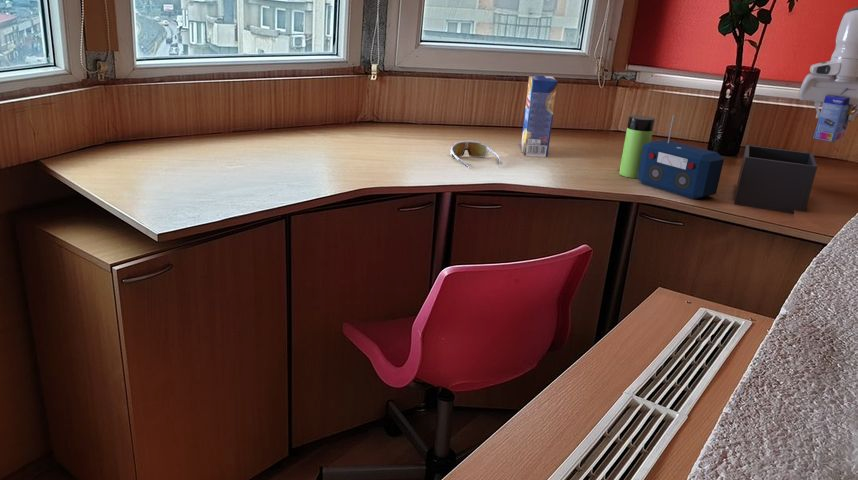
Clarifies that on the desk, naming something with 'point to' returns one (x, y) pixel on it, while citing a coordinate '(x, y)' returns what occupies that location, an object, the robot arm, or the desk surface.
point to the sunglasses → (470, 150)
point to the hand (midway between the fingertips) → (833, 119)
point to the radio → (680, 168)
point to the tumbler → (635, 143)
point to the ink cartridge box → (833, 118)
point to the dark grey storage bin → (775, 179)
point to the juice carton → (538, 115)
